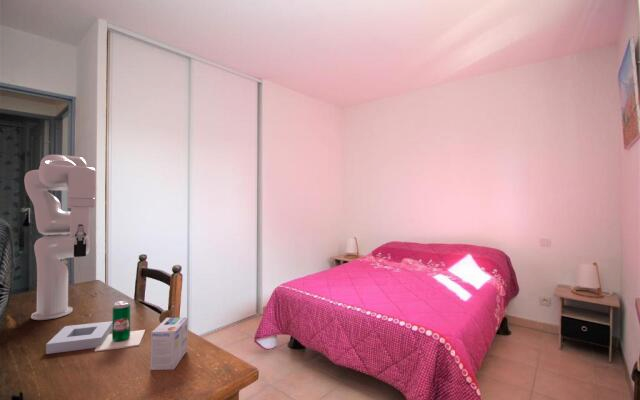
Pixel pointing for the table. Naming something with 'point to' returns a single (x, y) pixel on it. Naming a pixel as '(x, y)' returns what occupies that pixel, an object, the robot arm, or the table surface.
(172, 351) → the light bulb box
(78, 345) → the collar
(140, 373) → the table surface
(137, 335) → the mat
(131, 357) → the table surface
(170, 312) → the snail figurine
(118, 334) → the soda can
